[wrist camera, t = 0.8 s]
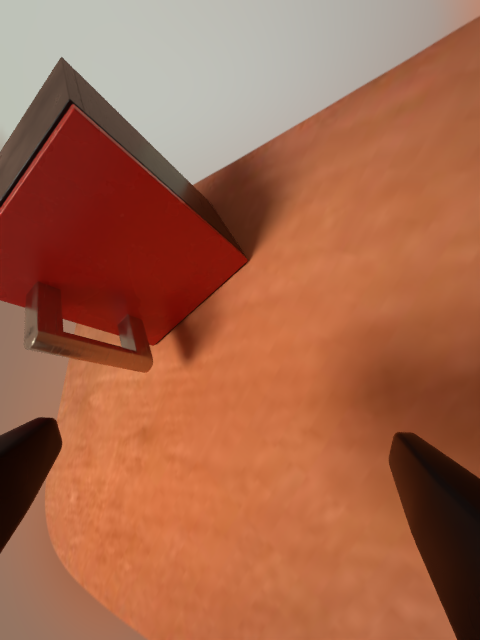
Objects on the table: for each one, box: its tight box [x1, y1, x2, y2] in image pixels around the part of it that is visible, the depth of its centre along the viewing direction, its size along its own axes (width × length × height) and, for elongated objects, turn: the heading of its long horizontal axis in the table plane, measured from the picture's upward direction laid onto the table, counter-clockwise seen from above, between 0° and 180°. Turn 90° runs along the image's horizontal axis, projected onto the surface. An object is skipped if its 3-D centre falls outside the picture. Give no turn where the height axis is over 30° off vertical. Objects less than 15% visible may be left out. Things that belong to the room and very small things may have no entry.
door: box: [0, 104, 248, 373], centre depth 21 cm, size 6×14×16 cm, turn 118°
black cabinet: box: [0, 57, 244, 254], centre depth 26 cm, size 10×14×17 cm
